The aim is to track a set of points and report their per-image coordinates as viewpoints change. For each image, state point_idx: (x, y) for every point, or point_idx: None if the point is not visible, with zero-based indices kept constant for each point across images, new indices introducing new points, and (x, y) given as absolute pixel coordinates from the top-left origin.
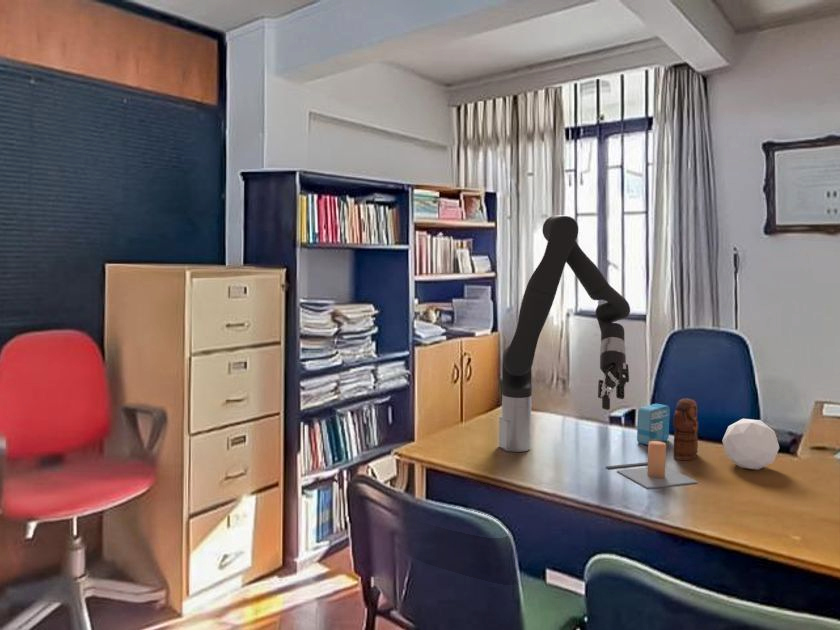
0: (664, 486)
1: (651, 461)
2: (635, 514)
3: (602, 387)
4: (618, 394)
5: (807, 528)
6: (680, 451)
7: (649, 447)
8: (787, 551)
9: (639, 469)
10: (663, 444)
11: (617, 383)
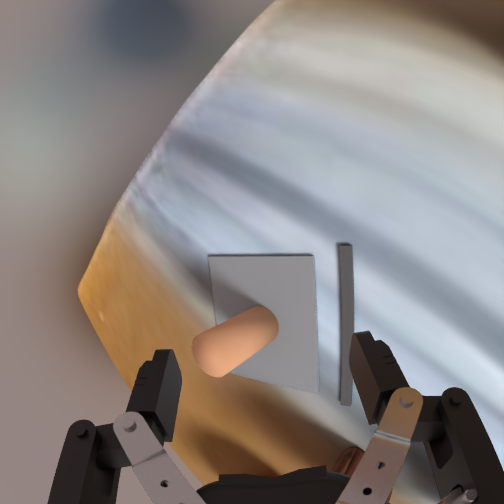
0: (214, 297)
1: (231, 318)
2: (138, 171)
3: (388, 448)
4: (154, 363)
5: (114, 347)
6: (337, 462)
7: (216, 330)
8: (85, 280)
9: (307, 319)
10: (200, 361)
11: (127, 418)
